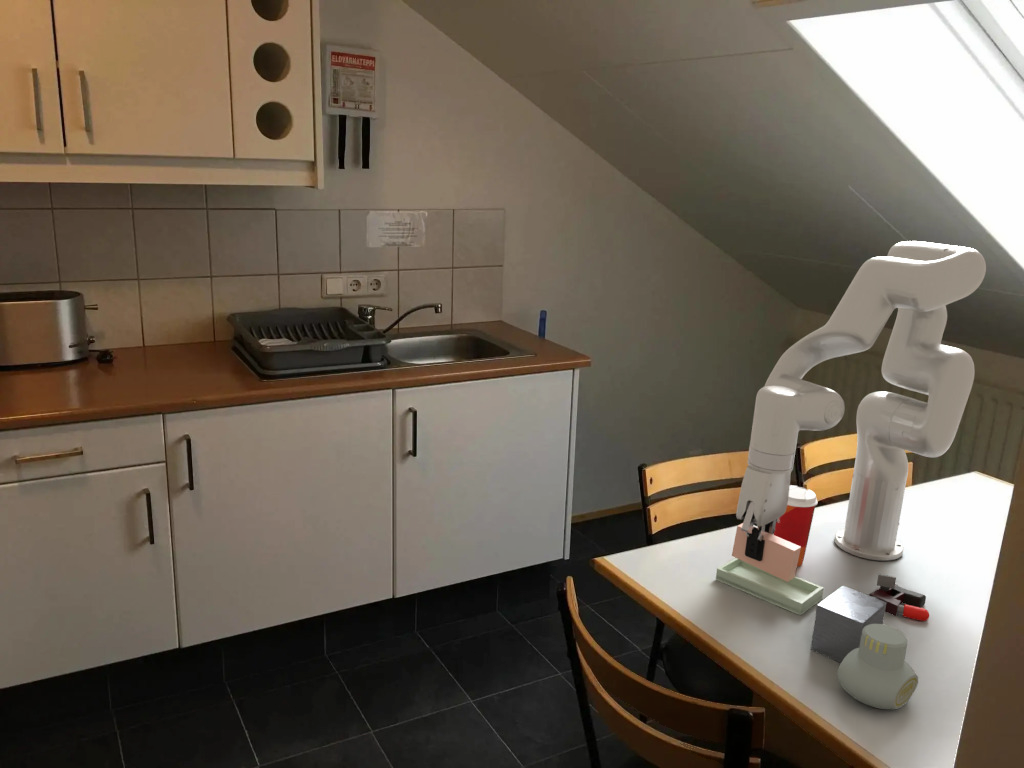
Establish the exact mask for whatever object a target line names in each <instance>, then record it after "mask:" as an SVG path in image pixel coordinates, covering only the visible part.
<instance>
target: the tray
mask: <svg viewBox="0 0 1024 768" xmlns="http://www.w3.org/2000/svg"><path fill="white" fill-rule="evenodd" d="M715 580H716V581H717V582H721V583H723V584H725V585H728V586H730V587H733V588H735V589H737V590H740V591H742V592H744V593H747V594H748V595H751V596H753V597H756V598H759V599H761V600H763V601H765V602H768V603H770V604H773V605H775V606H777V607H779V608H781V609H784V610H785V611H789V612H792V613H794V614H796V615H798V616H801V615H803V614H804V613H805V612H807V611H808V610H810V609H811V608H812V607H813V606H814V605H815V606H816V604H818V602H819V603H820V602H821V601H822V599H823V595H824V586H821V585H819V584H816V583H814V582H812V581H808V580H806V579H804V578H801V577H798V576H796V575H795V577H794V578H793V579H792V580H790V581H789V582H787V581H785V580H782V579H780V578H778V577H776V576H774V575H772V574H770V573H767V572H765V571H763V570H761V569H759V568H757V567H755V566H752V565H750V564H748V563H746V562H744V561H742V560H740V559H737V558H735V557H733V558H732V559H730V560H729V561H728V562H726V563H723V564H722V565H720V566H719V567H717V568H716V576H715Z"/></svg>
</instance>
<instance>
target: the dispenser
mask: <svg viewBox="0 0 1024 768" xmlns="http://www.w3.org/2000/svg"><path fill="white" fill-rule="evenodd" d="M886 603H887V602H884V601H881V600H879V599H876V598H874V597H871V596H869V595H868V594H866V593H864V592H861V591H857V590H855V589H852V588H850V587H848V586H845V585H841V586H840V587H838V588H837V589H836V590H834V591H833V592H832V593H831V594H830V595H828V596H827V597H826V598H825V599H823V600H821V601H819V603H817V606H816V612H815V618H814V625H813V631H812V637H811V644H810V651H812V652H815V653H817V654H818V655H819V654H820V655H821V656H824V657H826V658H828V659H831V660H833V661H835V662H837V663H838V664H839V663H840V664H841V662H842V661H843V659H844V658H845V657H846V656H847V654H849V653H850V652H851V651H852V650H854V649H856V648H859V647H860V641H861V636H862V630H863V628H864V627H865V626H867V625H870V624H884V620H885V613H886V612H885V609H886Z"/></svg>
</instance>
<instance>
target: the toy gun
mask: <svg viewBox="0 0 1024 768" xmlns="http://www.w3.org/2000/svg"><path fill="white" fill-rule="evenodd" d="M876 586H878V587H879V588H878V589H876V590H874V591H872V592H870V593H869V595H868V596H871V597H874V598H876V599H879V600H881V601H884V602H887V603H886V609H885V613H888V614H889V615H892V616H893V617H897V615H898V614H899V615H902V617H904V618H907V619H913V620H915V621H916V620H917V621H922V622H926V621H928V620H929V619H930V612H929V611H928V610H927V609H926V608H924V607H923V606H925V604H926V599H927V596H926V595H925V594H923V593H919V592H916V591H913V590H910V589H906V588H905V587H902V586H900V585H899V584H897V577H896V576H893V575H888V574H885V573H884V574H882V573H878V576H877V582H876ZM902 604H903V605H902Z"/></svg>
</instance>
